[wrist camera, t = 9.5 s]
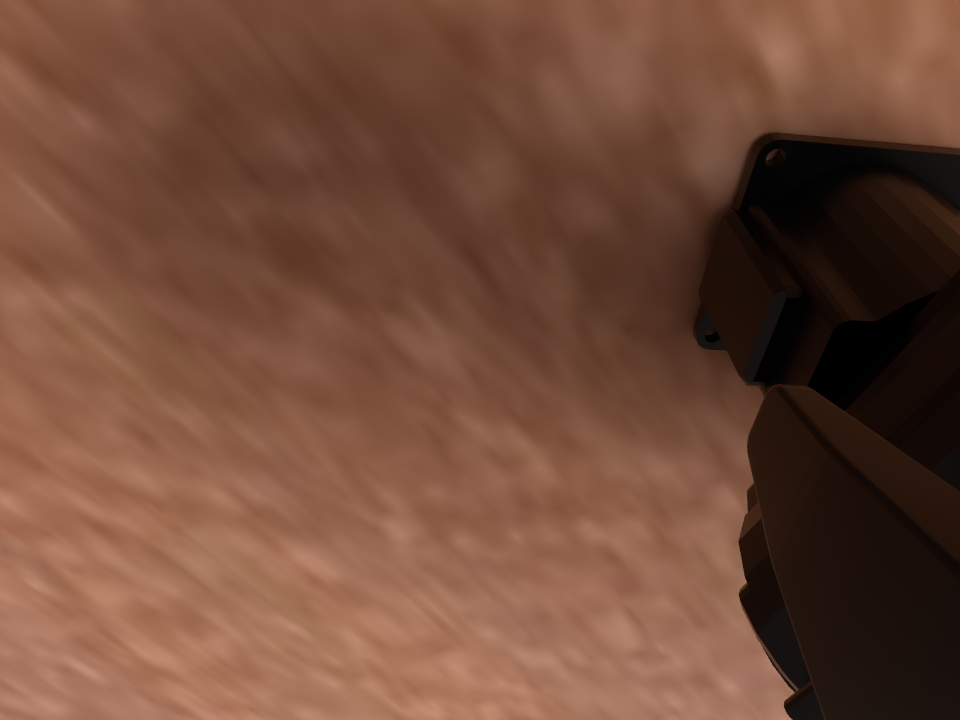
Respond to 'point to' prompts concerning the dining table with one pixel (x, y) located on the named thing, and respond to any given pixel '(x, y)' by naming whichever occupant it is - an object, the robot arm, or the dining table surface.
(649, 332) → the dining table surface
